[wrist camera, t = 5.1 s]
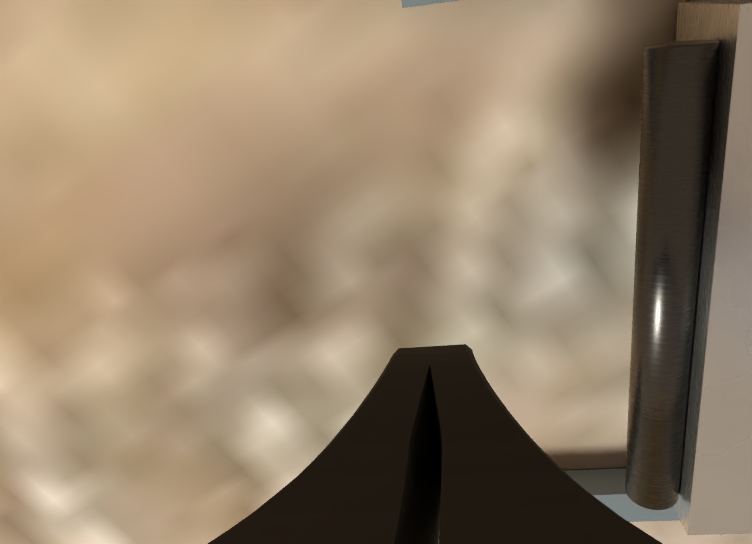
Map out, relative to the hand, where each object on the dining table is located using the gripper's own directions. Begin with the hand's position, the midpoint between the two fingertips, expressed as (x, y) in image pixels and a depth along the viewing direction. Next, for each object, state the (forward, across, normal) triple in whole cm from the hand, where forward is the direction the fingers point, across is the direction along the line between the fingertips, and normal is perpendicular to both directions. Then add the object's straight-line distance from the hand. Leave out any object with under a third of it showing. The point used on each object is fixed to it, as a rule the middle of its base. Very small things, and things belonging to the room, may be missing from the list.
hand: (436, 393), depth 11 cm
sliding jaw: (+5, -6, 0) cm, 8 cm away
